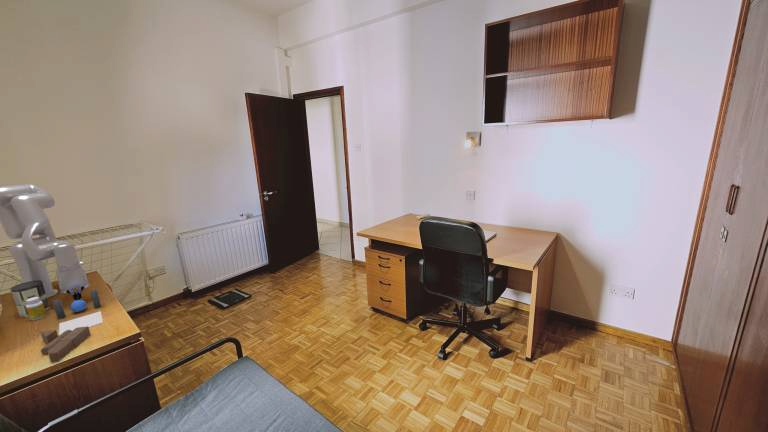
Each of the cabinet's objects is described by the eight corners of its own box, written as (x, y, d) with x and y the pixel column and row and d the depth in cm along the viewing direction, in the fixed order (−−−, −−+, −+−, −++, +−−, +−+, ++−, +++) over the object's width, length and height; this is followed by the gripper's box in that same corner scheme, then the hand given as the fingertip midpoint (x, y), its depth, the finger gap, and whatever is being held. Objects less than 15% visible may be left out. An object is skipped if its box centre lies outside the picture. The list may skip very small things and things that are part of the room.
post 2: (94, 307, 153) (89, 290, 151) (101, 305, 155) (96, 288, 152) (94, 308, 151) (89, 292, 149) (101, 306, 153) (97, 290, 151)
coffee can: (39, 304, 156) (31, 279, 153) (56, 306, 154) (48, 280, 151) (13, 315, 146) (3, 289, 143) (29, 317, 144) (20, 290, 141)
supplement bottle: (35, 321, 141) (29, 302, 139) (26, 320, 142) (20, 301, 140) (49, 314, 147) (44, 296, 144) (41, 313, 148) (35, 295, 145)
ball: (72, 316, 146) (71, 308, 150) (88, 311, 150) (86, 304, 153) (69, 307, 144) (68, 300, 147) (86, 303, 148) (84, 296, 151)
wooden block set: (89, 322, 130) (55, 349, 113) (92, 334, 132) (59, 362, 115) (41, 328, 127) (-1, 357, 110) (45, 340, 128) (4, 370, 111)
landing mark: (59, 323, 139) (59, 323, 139) (100, 311, 148) (100, 311, 148) (59, 336, 129) (59, 336, 129) (103, 322, 139) (103, 322, 139)
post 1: (57, 317, 144) (52, 300, 142) (65, 315, 146) (60, 298, 144) (57, 319, 142) (52, 302, 140) (65, 317, 144) (60, 300, 142)
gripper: (89, 260, 160) (97, 292, 165) (47, 269, 150) (57, 303, 154) (89, 264, 155) (98, 297, 160) (46, 273, 145) (57, 308, 149)
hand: (78, 300), depth 157 cm, fingers closed
